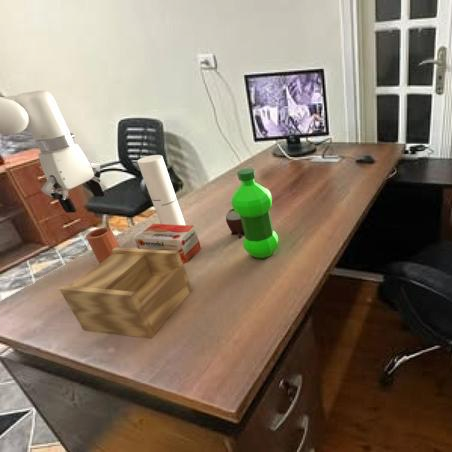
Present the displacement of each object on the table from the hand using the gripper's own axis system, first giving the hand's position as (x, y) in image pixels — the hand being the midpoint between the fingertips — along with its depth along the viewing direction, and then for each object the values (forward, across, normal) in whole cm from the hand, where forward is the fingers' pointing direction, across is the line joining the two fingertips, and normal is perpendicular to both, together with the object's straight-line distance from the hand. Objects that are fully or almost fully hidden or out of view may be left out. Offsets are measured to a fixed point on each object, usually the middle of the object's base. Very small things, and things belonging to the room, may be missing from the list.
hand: (86, 203), depth 97 cm
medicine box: (+18, -4, +19) cm, 27 cm away
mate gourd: (+19, -18, +35) cm, 43 cm away
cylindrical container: (+19, -18, +10) cm, 27 cm away
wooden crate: (+18, +19, +26) cm, 37 cm away
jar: (+18, 0, 0) cm, 18 cm away
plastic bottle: (+19, -7, +47) cm, 51 cm away
